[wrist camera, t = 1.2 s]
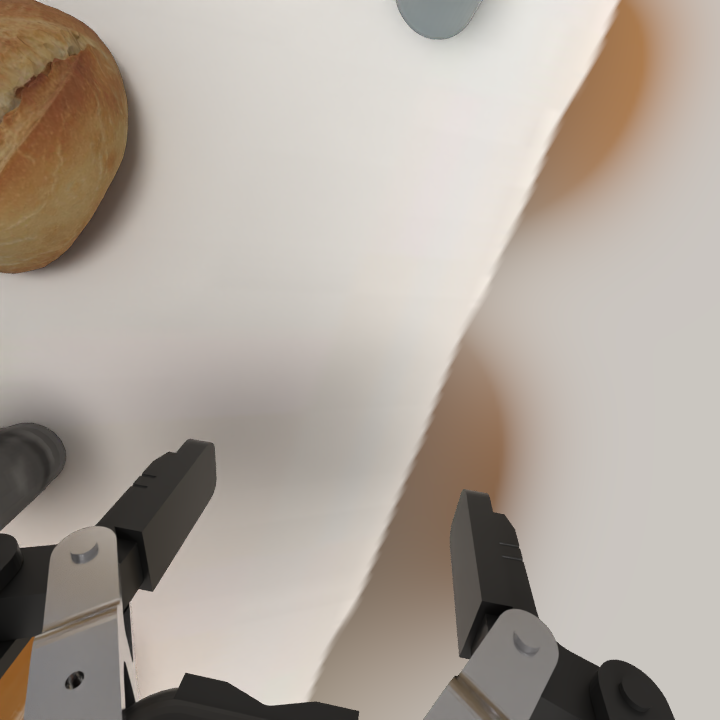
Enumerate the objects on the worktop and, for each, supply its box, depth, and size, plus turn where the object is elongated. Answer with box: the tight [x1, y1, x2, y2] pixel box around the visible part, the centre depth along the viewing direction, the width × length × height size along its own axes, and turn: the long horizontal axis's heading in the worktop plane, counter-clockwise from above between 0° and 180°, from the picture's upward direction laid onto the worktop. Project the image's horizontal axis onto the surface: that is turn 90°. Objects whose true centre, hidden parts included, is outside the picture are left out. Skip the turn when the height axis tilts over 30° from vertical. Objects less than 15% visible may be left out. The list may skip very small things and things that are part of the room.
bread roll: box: [0, 0, 128, 274], centre depth 21 cm, size 10×15×8 cm, turn 150°
